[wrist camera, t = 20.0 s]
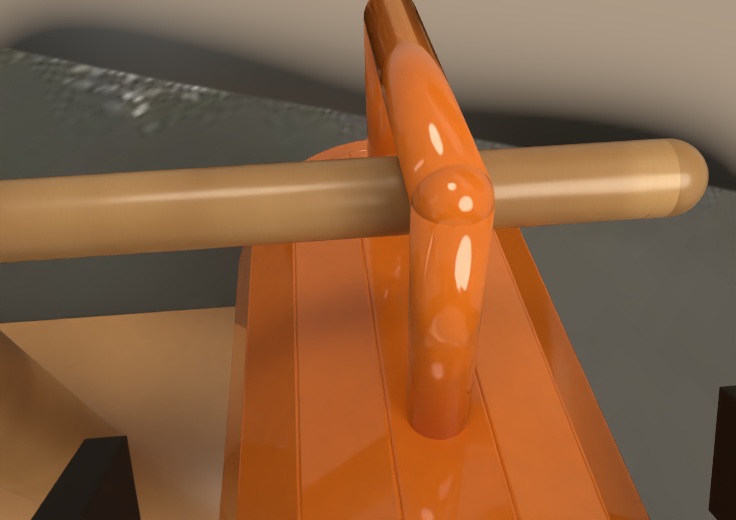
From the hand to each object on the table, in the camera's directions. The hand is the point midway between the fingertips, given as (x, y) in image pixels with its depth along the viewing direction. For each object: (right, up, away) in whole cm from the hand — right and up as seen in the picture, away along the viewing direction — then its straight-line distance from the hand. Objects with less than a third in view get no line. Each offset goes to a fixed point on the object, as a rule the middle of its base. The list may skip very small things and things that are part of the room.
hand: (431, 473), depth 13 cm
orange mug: (-1, +6, +7) cm, 10 cm away
